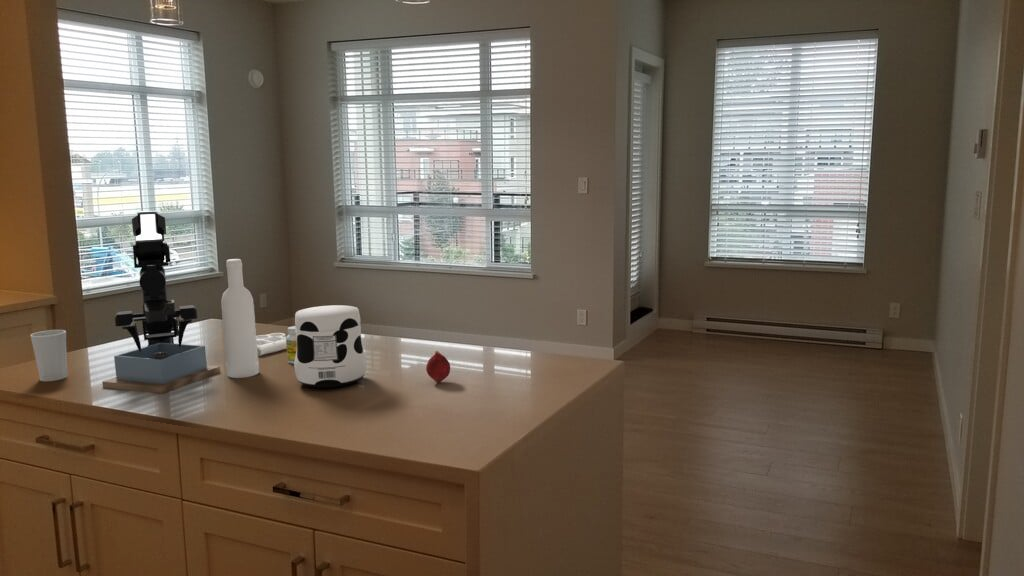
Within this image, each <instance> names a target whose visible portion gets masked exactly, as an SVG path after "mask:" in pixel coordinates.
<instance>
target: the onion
mask: <svg viewBox="0 0 1024 576" xmlns="http://www.w3.org/2000/svg"><path fill="white" fill-rule="evenodd" d="M426 363H427V364H426V366H425V367H426V369H425V371H426V374H427V375H428V376H429V377H430V378H431V380H433V381H434V382H435V383H437V384H438V383H439V384H440V383H441V382H443V381H444V380H445V379H446V378H447V377H448V376H449V375H450V373H451V363H450V361H449V360H448V359H447V357H445V356H444V355H443V354H442V353H440V352H439V350H435V352H434V355H432V356H431V357H430V358H429V359H428V361H427V362H426Z"/></svg>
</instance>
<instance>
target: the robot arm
mask: <svg viewBox="0 0 1024 576" xmlns="http://www.w3.org/2000/svg"><path fill="white" fill-rule="evenodd" d="M158 212H159V211H157V210H156V211H155V210H141V211H140V210H139V212H137V215H135V216H134V217H133V218H131V225H132V234H133V237H134V238H135V243H132V254H133V264H134V265H133V266H134V267H133V268H134V269H140V270H139V287H140V289H141V296H142V311H143V312H139V313H134V312H133V311H134V310H125V311H117V312H116V313H115V315H114V322H115V327H121V329H122V330H126V331H128V333H129V335H130V336H131V337H132V339H133V341H134V343H135V345H136V347H137V349H139V351H141V348H142V346H141V340H140V336H139V332H138V328H137V327H138V326H137V324H136V323H137V322H139V321H140V322H142V324H141V325H142V332H143V339H144V340H143V341H147V346H150V345H154V344H157V343H173V344H175V342H174V341H175V340H174V338H178V339H177V340H178V344H179V347H181V344H182V342H183V338H184V334H185V330H186V327H187V325H188V324H189V323H193V320H196V319H198V311H197V310H198V309H197V307H196V306H195V305H194V304H192V305H191V304H190V305H179V309H176V307H175V299H170V300H169V299H168V289H167V281H166V279H167V278H166V269H165V268H164V267H169V263H171V262H172V261H171V253H170V251H171V250H170V246H169V245H168V243H167V241H165V235H167V226H166V217H164V216H162V215H160V214H159V213H158ZM176 318H178V319H176Z"/></svg>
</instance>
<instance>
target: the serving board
mask: <svg viewBox="0 0 1024 576" xmlns="http://www.w3.org/2000/svg"><path fill="white" fill-rule="evenodd" d="M219 373H221V366H219V365H208V364H207V369H204V370H201V371H198V372H195V373H193V374H190V375H187V376H184V377H181V378H179V379H176V380H173V381H170V382H167V383H165V384H157V383H147V382H137V381H127V380H118V379H117V378H116V376H115V377H112V378H108V379H106V380H103V381H102V382H101V383H102V388H104V389H106V388H107V389H114V390H115V389H117V390H126V391H134V392H144V393H151V394H152V393H154V394H164V393H167V392H170V391H174V390H175V389H178V388H181V387H184V386H186V385H189V384H192V383H195V382H197V381H200V380H202V379H205V378H207V377H210V376H213V375H216V374H219Z"/></svg>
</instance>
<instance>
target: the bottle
mask: <svg viewBox="0 0 1024 576" xmlns="http://www.w3.org/2000/svg"><path fill="white" fill-rule="evenodd" d="M225 267H226V272H227V284H228V286H227V287H228V288H227V289H225V290H224V292H223V293H222V296H221V302H220V304H221V315H222V328H223V337H224V338H223V340H224V349H225V360H226V361H225V362H226V365H225V366H226V373H227V376H228V378H232V379H244V378H250V377H255V376H256V375H258V374H259V372H260V361H259V356H258V352H257V340H256V336H257V332H256V331H257V330H256V316H255V304H254V298H253V296H252V293H251V291H250V290H249V289H247V287H245V286H244V275H243V263H242V259H240V258H231V259H230V258H229V259H227V260H226V265H225Z"/></svg>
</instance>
